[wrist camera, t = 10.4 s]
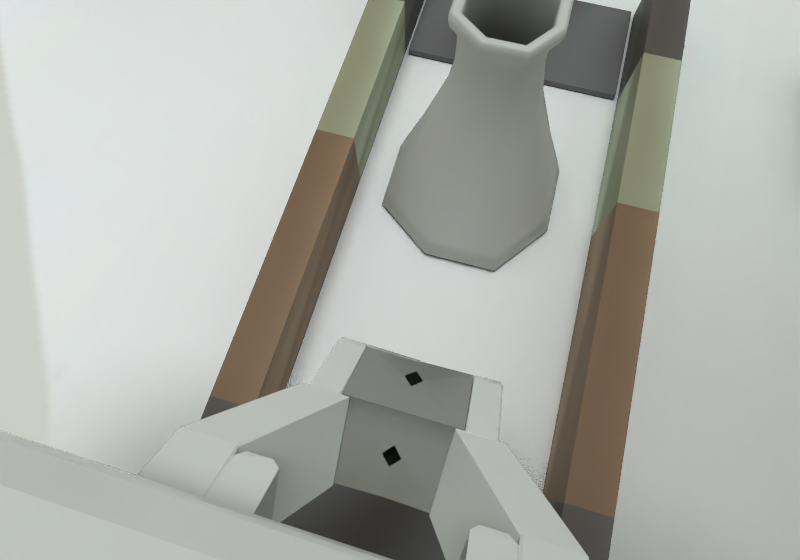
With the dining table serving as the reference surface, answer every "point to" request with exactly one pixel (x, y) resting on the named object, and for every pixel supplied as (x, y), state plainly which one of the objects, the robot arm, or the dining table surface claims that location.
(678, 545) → the dining table surface
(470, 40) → the flask
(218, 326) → the dining table surface
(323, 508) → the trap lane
